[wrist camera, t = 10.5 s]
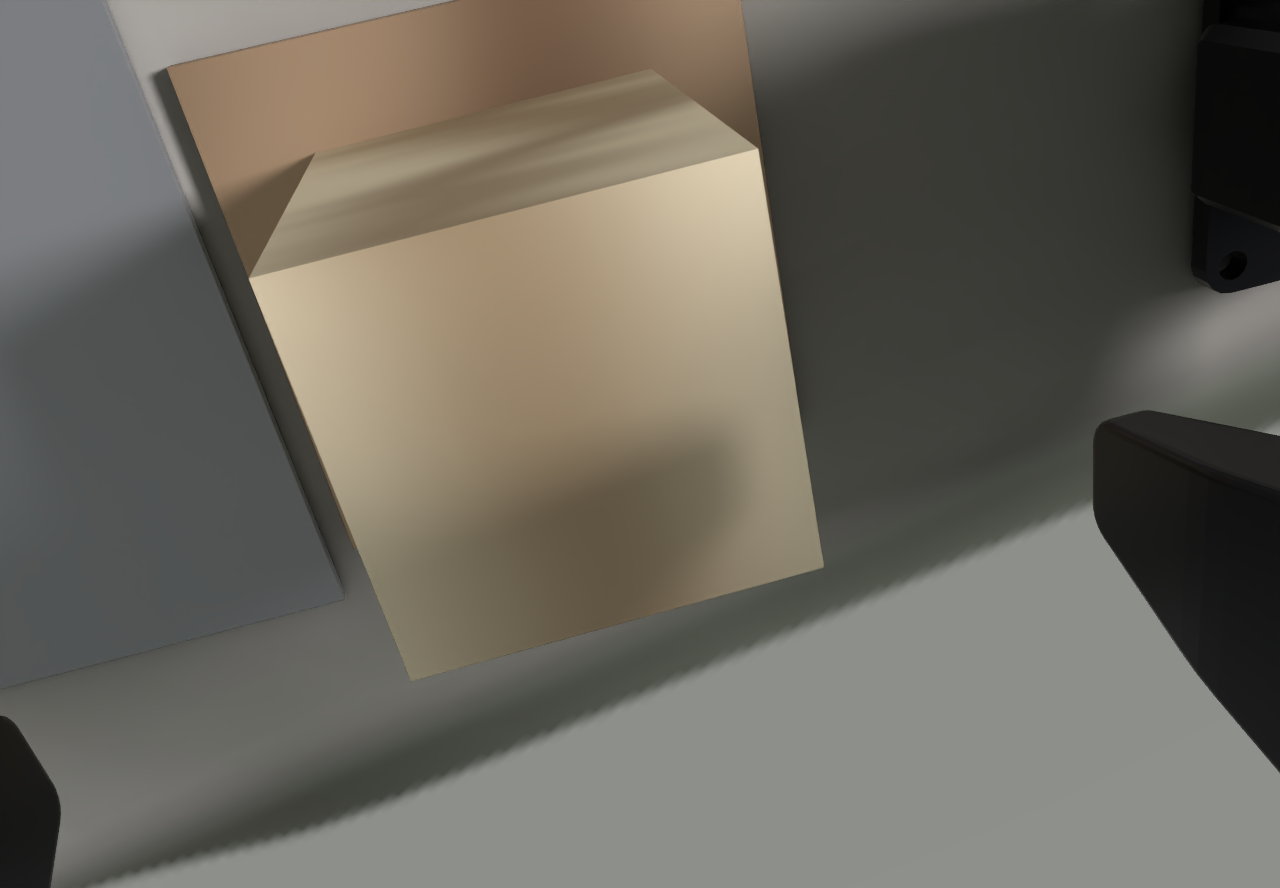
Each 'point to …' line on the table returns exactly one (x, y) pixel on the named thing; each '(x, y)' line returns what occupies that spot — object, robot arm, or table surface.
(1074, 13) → the table surface
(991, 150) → the table surface
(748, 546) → the birch block
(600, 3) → the pad
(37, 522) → the tile
